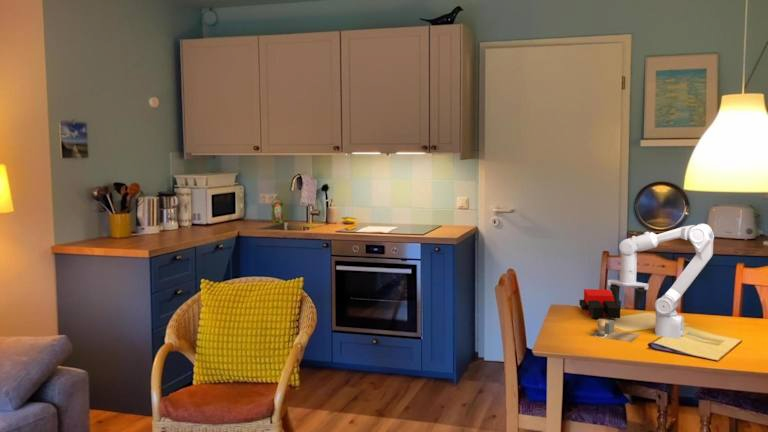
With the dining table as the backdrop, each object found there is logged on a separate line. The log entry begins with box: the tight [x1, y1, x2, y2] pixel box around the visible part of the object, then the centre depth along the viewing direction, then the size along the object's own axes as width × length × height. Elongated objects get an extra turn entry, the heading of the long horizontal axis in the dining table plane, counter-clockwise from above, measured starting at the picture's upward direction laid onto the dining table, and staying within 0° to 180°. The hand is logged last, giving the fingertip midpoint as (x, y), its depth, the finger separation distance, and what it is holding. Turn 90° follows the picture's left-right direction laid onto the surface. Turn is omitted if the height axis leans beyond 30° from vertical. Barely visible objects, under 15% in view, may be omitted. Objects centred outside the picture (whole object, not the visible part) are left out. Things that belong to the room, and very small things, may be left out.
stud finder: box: [604, 318, 615, 335], centre depth 262 cm, size 4×6×4 cm, turn 145°
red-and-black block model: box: [578, 288, 621, 319], centre depth 292 cm, size 15×8×25 cm
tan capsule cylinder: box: [596, 318, 605, 338], centre depth 257 cm, size 3×3×6 cm
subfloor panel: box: [589, 330, 641, 343], centre depth 259 cm, size 15×12×1 cm
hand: (627, 306), depth 266 cm, fingers open, 7 cm apart
